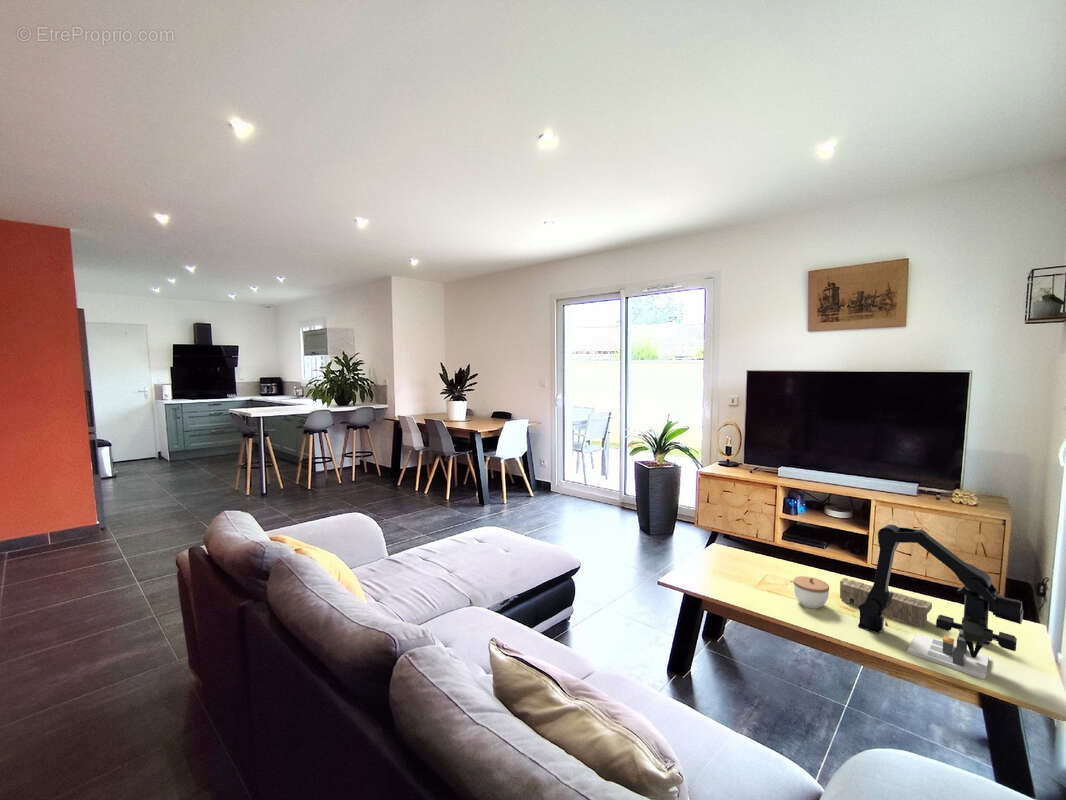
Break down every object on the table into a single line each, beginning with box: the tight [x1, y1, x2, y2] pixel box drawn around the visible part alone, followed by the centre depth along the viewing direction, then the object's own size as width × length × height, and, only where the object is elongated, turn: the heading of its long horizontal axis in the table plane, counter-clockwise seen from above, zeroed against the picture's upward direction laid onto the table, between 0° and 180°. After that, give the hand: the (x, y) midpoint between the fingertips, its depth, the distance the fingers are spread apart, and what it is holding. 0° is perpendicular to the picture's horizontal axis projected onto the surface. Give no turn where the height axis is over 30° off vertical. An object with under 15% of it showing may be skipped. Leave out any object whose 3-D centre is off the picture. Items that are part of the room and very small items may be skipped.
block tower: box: [839, 577, 933, 628], centre depth 187 cm, size 8×8×29 cm
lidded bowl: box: [793, 575, 830, 610], centre depth 192 cm, size 13×13×11 cm
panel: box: [907, 632, 990, 680], centre depth 156 cm, size 19×15×5 cm
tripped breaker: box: [942, 635, 955, 655], centre depth 156 cm, size 2×3×4 cm
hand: (973, 657), depth 152 cm, fingers closed
